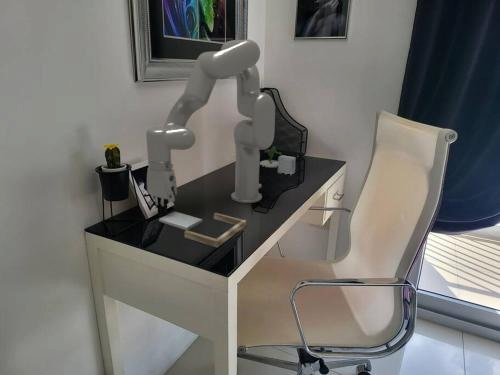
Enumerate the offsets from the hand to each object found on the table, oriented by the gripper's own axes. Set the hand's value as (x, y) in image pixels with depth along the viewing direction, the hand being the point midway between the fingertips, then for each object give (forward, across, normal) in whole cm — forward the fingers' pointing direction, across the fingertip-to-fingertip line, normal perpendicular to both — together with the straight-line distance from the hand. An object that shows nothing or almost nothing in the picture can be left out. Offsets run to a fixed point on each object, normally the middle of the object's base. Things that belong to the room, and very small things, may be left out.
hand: (162, 214), depth 121 cm
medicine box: (+1, -16, -74) cm, 76 cm away
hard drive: (+1, -8, 0) cm, 8 cm away
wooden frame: (0, -22, 0) cm, 22 cm away
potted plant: (+1, -2, -85) cm, 85 cm away
